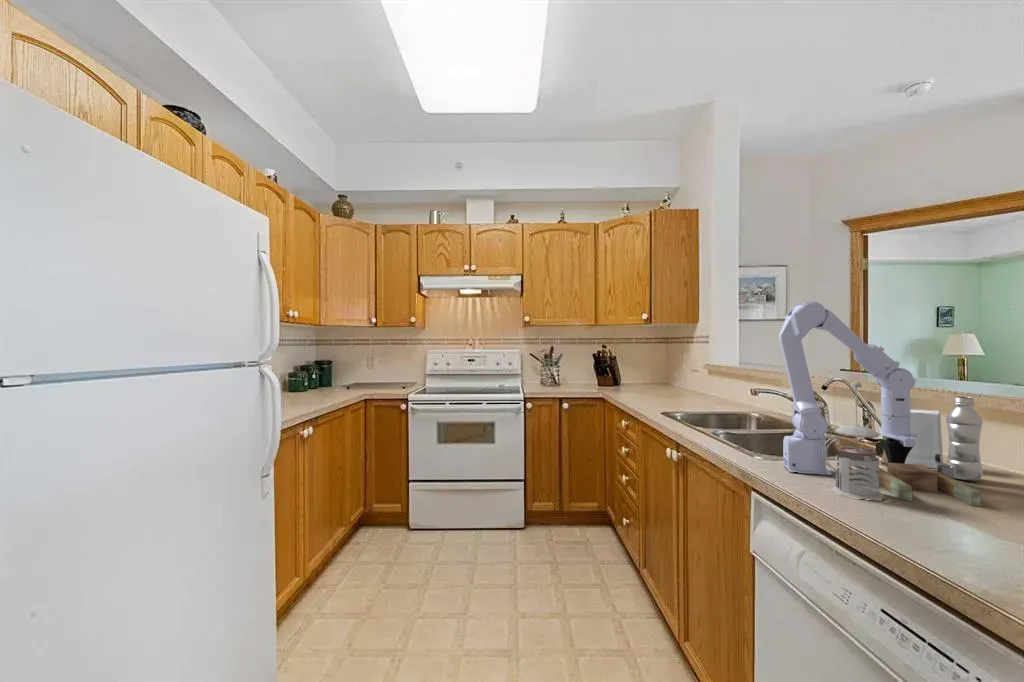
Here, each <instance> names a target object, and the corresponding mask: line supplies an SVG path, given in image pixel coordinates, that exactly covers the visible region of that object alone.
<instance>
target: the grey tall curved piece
mask: <svg viewBox="0 0 1024 682" xmlns="http://www.w3.org/2000/svg"><path fill="white" fill-rule="evenodd" d="M850 387H851V388H855V424H849V425H844V426H840V427H837V428H836V429H835V430H834V432H835V433H836V434H837V435H840V436H846V437H853V438H855V442H856V443H855V444H856V445H855V446H850V445H849V446H845V445H844V446H839V445H841V440H840V438H837V437H834V436H833V437H830V438H828V439H826V442H825V444H824V446H823V448H822V457H823V460H824V462H825V464H826V466H828V467H829V468H831V470H834V471H835V486H834V487H832V488H833V489H832V488H831V489H832V490H833V491H835V492H838V493H840V494H844V495H847V496H852V497H856V498H862V499H870V500H879V499H884V498H885V499H886V496H885V495H884V494H882V493H881V492H880V484H879V468H880V466H879V465H880V464H879V458H878V457H875V456H876V455H877V454H878V452H877V451H876V450H874V449H871V448H864V447H863V448H862V447H859V446H858V438H867V439H868V438H871V439H873V438H879V436H881V435H880V434H879V432H877V431H875V430H873V429H872V428H869V427H867V426H864V425H860V424H858V394H857V393H858V392H857V390H858V389H857V388H862V383H861V382H859V381H853V382H851V384H850ZM832 439H833V440H832ZM830 440H831V441H830ZM837 440H838V441H837ZM829 441H830V442H829ZM833 442H835V444H836V445H838V448H837V450H838V451H839V452H840V453H837V454H835V468H834V467H833V466H832V465H831V464H830V463H829V460H828V449H829V447H830V445H831V444H832V443H833ZM827 443H828V444H827ZM825 445H826V452H825V455H826V461H825V459H824V451H823V450H824V447H825ZM853 467H855V468H853ZM854 473H856V474H854ZM855 479H857V480H855ZM885 499H884V500H885Z"/></svg>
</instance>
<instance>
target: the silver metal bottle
mask: <svg viewBox="0 0 1024 682" xmlns="http://www.w3.org/2000/svg"><path fill="white" fill-rule="evenodd" d="M952 405H954V406H953V408H951V410H949V411H948V413H947V415H946V418H945V421H946V426H947V432H948V439H949V441H948V444H949V447H948V455H947V458H946V463H945V464H948V465H950V466H951V467H954V479H957V480H961V481H966V480H967V481H969V482H970V481H971V482H973V481H974V482H975V481H980V480H981V479H982V477H983V473H984V470H983V463H982V461H981V454H980V453H981V452H980V442H981V433H982V427H983V418H982V416H981V415H980V413H979V412H978V411H977V410H976V409H975V408H974V406H975V405H976V404H975V398H974V397H971V396H953V397H952Z"/></svg>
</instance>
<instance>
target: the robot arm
mask: <svg viewBox="0 0 1024 682" xmlns="http://www.w3.org/2000/svg"><path fill="white" fill-rule="evenodd" d="M812 329H816V330H821V331H825V332H829V333H830V335H832V336H833V337H835V338H836V339H837V340H838V341H840V342H841V343H842V344H843V345H844V346H846V347H847V348H848V349H849V350H850V351H852V352H853V360H854V361H855V362H856V363H858V365H860V366H861V367H862V368H863V369H864V370H866V371H867V373H868V374H870V375H871V376H872V377H873V378H875V380H876V383H877V385H878V386H880V393H881V394H880V421H881V422H880V427H878V433H879V434H880V435H879V436H880V437H881V436H882V437H886V439H879V443H880V445H881V447H882V448H883V450H884V453H885V456H886V459H887V463H901V464H905V461H906V458H907V455H908V454H909V452H910V451H911V449H912V448H913V447H915V439H914V438H913V437H917V434H914V433H911V410H912V409H911V408H912V407H911V406H912V405H911V390H912V388H914V386H915V384H916V382H917V381H916V379H914V377H913V376H914V375H913V374H912V372H910V370H908V369H905V368H902V367H900V365H901V362H899V361H898V360H894V359H892V358H891V357H890V356H889V355H888V354H886V353H885V352H884V351H885V348H884V347H882V345H876V344H873V343H865V342H864V341H863V340H862V339H861V338H860V337H859V336H858V335H857V334H856V333H855V332H853V331H852V329H850V327H848V326H847V325H846V324H845V322H843V321H842V320H841V319H840V318H839V317H838V316H837V315H836V314H835V313H834V312H832V311H831V310H830V309H828V308H825V306H824V305H823V304H821V302H818V301H815V300H814V301H807V302H804V303H800V304H797V305H795V306H794V307H793V308H792V309H791V310H790V311H788V313H786V316H785V319H784V323H783V324H782V327H781V329H780V331H779V334H778V341H779V345H780V349H781V352H782V358H783V363H784V365H785V371H786V375H787V379H788V382H789V388H790V392H791V396H792V400H793V401H792V402H793V403H792V410H793V414H792V416H791V423H792V425H793V427H794V428H795V430H794V432H793V435H785V436H783V441H782V443H783V444H782V445H783V446H782V449H783V450H782V455H783V463H782V465H783V467H784V468H785V467H786V468H787V469H788V470H789V471H790V472H789V471H788V470H787V469H786V468H785V469H786V470H787V471H788V472H789V473H793V472H798V473H797V474H809V475H810V474H811V475H812V474H813V475H823V476H825V475H827V476H828V475H829V476H832V474H833V473H832V472H831V471H830V470H829V469H827V465H826V464H825V462H824V460H823V457H822V448H823V446H824V444H825V442H826V441H827V439H826V437H827V436H826V434H827V432H828V429H829V425H828V424H829V423H828V421H827V419H826V418H825V417H824V416H823V415H822V413H821V409H820V406H819V403H818V402H817V400H816V398H815V392H814V389H813V385H812V384H813V383H812V381H811V376H810V373H809V372H810V371H809V369H808V368H809V367H808V363H807V359H806V355H805V351H804V346H803V343H802V340H803V339H804V338H805V337H806V336H807V334H809V332H810V331H811V330H812ZM826 449H827V444H826V445H825V447H824V450H823V451H824V459H825V461H826V455H825V452H826ZM826 462H827V461H826Z"/></svg>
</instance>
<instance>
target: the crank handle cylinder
mask: <svg viewBox="0 0 1024 682" xmlns="http://www.w3.org/2000/svg"><path fill="white" fill-rule="evenodd" d="M935 463H936V464H938V465H937V469H936V471H938V472H940V473H942V474H944V475H947V476H949V477H951V478H953V479H955V478H954V467H951V466H950V465H948V464H946V463H945V462H944V461H943V462H941V461H940V454H935Z"/></svg>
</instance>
